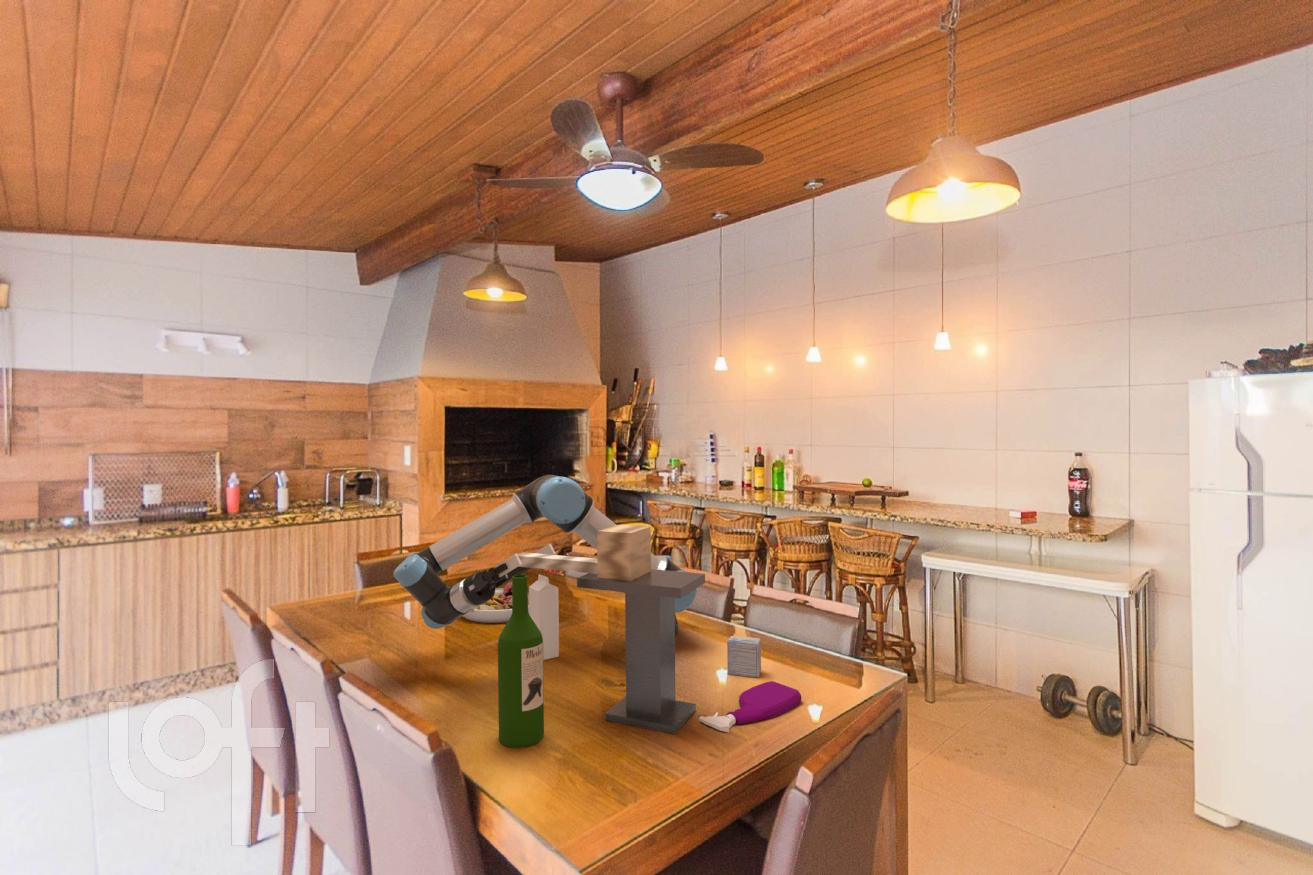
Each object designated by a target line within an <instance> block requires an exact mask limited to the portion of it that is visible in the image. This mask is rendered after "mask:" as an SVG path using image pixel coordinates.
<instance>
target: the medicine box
mask: <svg viewBox="0 0 1313 875" xmlns="http://www.w3.org/2000/svg"><path fill="white" fill-rule="evenodd" d="M761 647H762V640H761V638H760V637H759V638H758V637H751V636H739V635H738V636H737V635H731V636H730V637H728V640H727V641H726V649H727V650H726V652H727V653H726V655H727V656H726V657H727V658H726V660H727V662H726V664H727V665H726V667H727V668H726V669H727V672H726V673H727V675H733V676H743V677H749V678H750V677H752V678H759V677H760V674H761V672H762V649H761Z"/></svg>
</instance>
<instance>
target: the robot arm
mask: <svg viewBox="0 0 1313 875" xmlns="http://www.w3.org/2000/svg"><path fill="white" fill-rule="evenodd" d="M541 518H546V520H547V521H549V522H550V523H552V524H554V525H555V526H556V527H557V528H558V529H560V530H561V531H563V532H564V533H566V534H572V533H574V534H576V535H577V536H579V537H580V538H581V539H582V540H584V541H585V542H586V543H587V544H589V545H590V546H592V547H593V548H594V549H595V550H597V531H599V530H602V529H606V528H609V527H612V526H616V525H617V524H616V523H615V522H613V521H612V519H610V518H609V517H608V516H606V515H605V514H604V513H602V512H601V511H600V510H599V509H598V508H596V507H595V500H594V498H593V497H592V496H590V495H589V494H588V493H586V492H585V491H584V490H583V489H582V487H581V486H580V484H579V483H578V482H576V481H575V480H573V479H572V478H569V477H565V476H559V475H556V474H545V475H543V476H540V477H538V478H536V479H534V480H533V481H532V482H529V484H527V485H525V486H523V488H521V489H519V490H517V491H516V492H514V493H513V494H512V497H511V499H509V500H507V501H506V502H504V503H503V504H500V505H499V506H497V507H495V508H494V509H493V508H492V509H491V510H490V511H488V512H487V513H485V514H483V515H481V516H480V517H478V518H476V519H475V520H472V521H471V522H469V523H468V524H466V525H464V526H462V527H461V528H459V529H457V530H455V531H454V532H452V533H450V534H448V535H447V536H445V537H443V538H442V539H440V540H438V541H436V542H435V543H432V544H431V545H429V546H428V547H426V548H424V549H423V550H421V551H418V552H413V553H411V554H409V555H408V556H407V557H406V558H405V559H404V560H403V561H402V562H401V563H400V564H398V566H397V567H396V568H395V570H393V574H392V575H393V577H394V578H395V579H396V580H397V582H398V583H399V586H401V587H403V588H404V589H405V590H406V591H407V592H408V593H409V594H410V595H411V596H412V597H413V598H414V599H415V600H416V601H417V602H418V603H419V604H420V605H421V606H422V607H421V612H420V614H421V615H420V616H421V618H422V619H423V623H424V624H425V626H427V627H429V628H430V629H434V630H437V629H438V630H439V629H442V628H443V627H446V626H448V625H451V624H452V623H454V622H455V621H457V620H459V619H460V618H461V617H463V615H465V614H466V613H468V612H470V613H473V612H474V609H475V608H476V607H478V606H480V605H482V604H484V603H485V602H487V601H489V600H490V599H492V598H493V596H494V594H495V589H498V588H499V587H501V586H502V585H503V584H506V583H509V582H510V581H511V580H512V576H514V575H520V574H522V575H523V574H524V573H525V572H527V571H530V570H531V569H533V568H529V567H518V566H520V565H521V564H522V563H521V561H520V559H519V557H518V554H519V553H517V552H516V553H514V554H512V555H511V556H509V557H508V558H506V559H504V560H503V561H501V562H499V563H498V564H496V565H495V566H494V567H490V568H489V569H488V570H487V569H486V570H483V571H475V572H473V573H472V574H471V575H469V576H467V577H466V578H464V579H462V580H461V581H459V582H457V583H456V584H454V585H453V586H451V587H450V586H449V585H448V584H447V583H446V582H445V581H444V580H443V578H441V577H440V576H439V575H440V573H441V572H443V571H445V570H447V569H449V568H450V567H451V566H454V565H455V564H457V563H459V562H460V561H462V560H463V559H465V558H467V557H469V556H470V555H472V554H474V553H475V552H478V551H479V550H481V549H482V548H484V547H485V546H487V545H489V544H490V543H492V542H494V541H496V540H498V539H499V538H501V537H502V536H504V535H506V534H509V533H510V532H511V531H513V530H514V529H516V528H518V527H519V526H522V525H524V524H525V523H528V524H532V523H534V522H535V521H537V520H539V519H541ZM534 553H537V554H549V555H556V551H555V549H554V547H553V545H552V543H548V544H546V545H544V546H543V547H542V548H540V549H538V550H536V551H534ZM651 569H656V570H667V571H678V572H687V571H685V570H683V569H682V568H680V567H679V566H678V565H676V564H675V563H674V562H673V557H672V556H671V555H665V554H663V555H655V554H654V553H652V552H651ZM697 589H698V588H696V589H695V590H693V591H692V592H690V593H689V594H687V595H685V596H684V597H682V598H675V613H680V612H684V611H686V610H687V609H688V608H689V607H690V606H691V605H692V604H693V603H694V601H695V598H696V596H697ZM679 629H680V628H679V621H678V620H677V615H676V614H675V636H676V635H677V634H678V633H679V631H680V630H679Z"/></svg>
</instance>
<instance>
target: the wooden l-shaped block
mask: <svg viewBox="0 0 1313 875" xmlns="http://www.w3.org/2000/svg"><path fill="white" fill-rule="evenodd" d="M651 533H652V532H651V526H650V525H649V526H648V525H647V526H646V525H633V524H632V525H631V524H616V526H612V527H609V528H606V529H602V530H599V531H597V549H596V552H597V553H596V556H597V557H596V558H594V557H581V556H570V555H569V556H568V555H559V554H554V555H549V554H537V553H535V552H534V553H533V552H525V551H524V552H521V553H517V554H518V557H519V559H520V561H521V563H522V564H521V565H520V566H518V567H529V568H532V569H540V570H541V569H542V570H551V571H560V572H561V571H562V572H571V573H572V572H573V573H584V574H588V573H592V574H597V578H607V579H617V580H627V581H632V580H634V579H636V578H638V577H640V576H642V575H644V574H646V573H648V572H650V571H651V553H652V552H651V551H652V550H651V549H652V547H651V546H652V545H651V543H652V542H651V541H652V538H651V537H652V536H651V535H652V534H651Z"/></svg>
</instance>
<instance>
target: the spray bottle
mask: <svg viewBox="0 0 1313 875" xmlns="http://www.w3.org/2000/svg"><path fill="white" fill-rule="evenodd" d="M738 697H739V698H738V704H739V706H740V708H738V709H735V710H734V711H728V712H727V713H726V714H725V715H722V716H721V715H719V712H718V711H716V713H715V714H713V716H711V715H710V716H709V715H708V716H703V715H700V716H699V720H698V721H699V722H702V723H703V724H705V725H707V726H709V727H711V728H713V729H716V730H717V731H721V732H725V733H730V728H732V727H733V726H734V725H743V724H749V723H754V722H758V721H764V720H769V719H771V718H775V717H778V716H779V715H782V714H784V713H787V712H788V711H791V710H792V709H793V708H795V707H797V706H798V705H800V703H801V702H802V694H801V693H800V691H799V690H798V689H796V688H793V687H791V686H787V685H785V684H781V683H779V682H776V681H773V680H772V681H771V680H769V681H766V682H765V681H764V682H762V683H760V684H758V685H754V686H752V687H750V688H748V689H746V690H744V691H743V692H742V693H741V694H740V695H739V696H738Z"/></svg>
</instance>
